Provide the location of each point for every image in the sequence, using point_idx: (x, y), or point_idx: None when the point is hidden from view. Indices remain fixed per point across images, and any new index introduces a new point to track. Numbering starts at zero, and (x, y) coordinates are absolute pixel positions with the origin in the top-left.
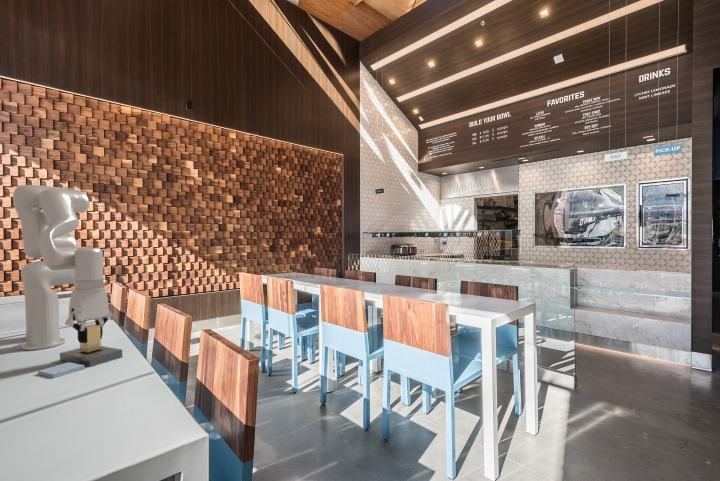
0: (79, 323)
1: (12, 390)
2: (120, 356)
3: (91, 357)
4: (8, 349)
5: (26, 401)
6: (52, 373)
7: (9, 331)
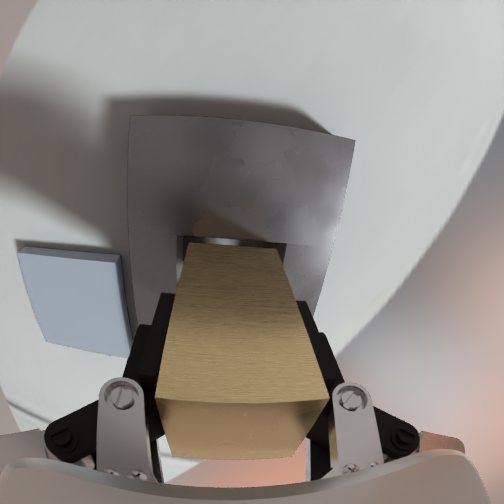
0: (126, 460)
1: None
2: None
3: None
4: None
5: (15, 384)
6: (43, 330)
7: None
